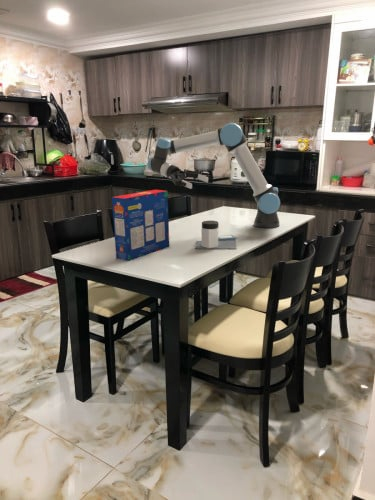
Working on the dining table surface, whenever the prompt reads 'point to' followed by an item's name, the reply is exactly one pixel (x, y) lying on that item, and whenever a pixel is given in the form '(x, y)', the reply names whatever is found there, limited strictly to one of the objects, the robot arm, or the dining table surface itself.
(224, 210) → the dining table surface
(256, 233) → the dining table surface
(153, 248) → the blue cardboard box
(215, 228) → the jar
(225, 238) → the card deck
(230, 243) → the mat
